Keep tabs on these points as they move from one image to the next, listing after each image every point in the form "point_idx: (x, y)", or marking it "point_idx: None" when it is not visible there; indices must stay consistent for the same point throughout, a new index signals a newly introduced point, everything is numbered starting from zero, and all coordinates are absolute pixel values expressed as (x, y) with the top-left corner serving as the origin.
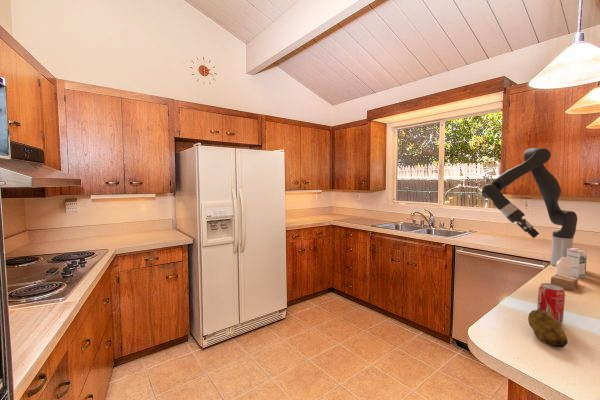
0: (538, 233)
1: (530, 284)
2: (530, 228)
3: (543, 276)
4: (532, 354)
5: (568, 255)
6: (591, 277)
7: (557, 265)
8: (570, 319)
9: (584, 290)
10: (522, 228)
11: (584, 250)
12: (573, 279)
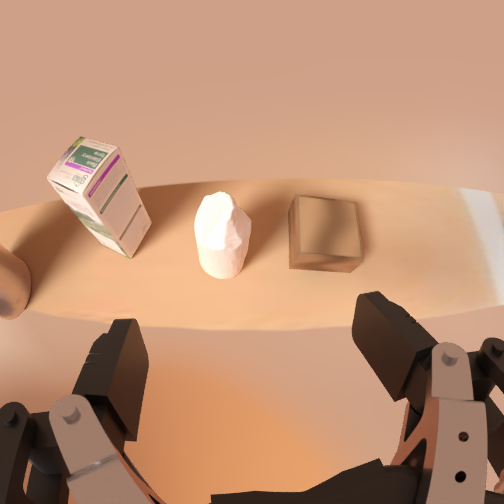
0: (135, 323)
1: None
2: (458, 355)
3: (241, 317)
4: None
5: (101, 209)
6: None
7: (240, 249)
8: (488, 214)
9: None
10: (502, 419)
11: (87, 140)
12: (326, 203)
